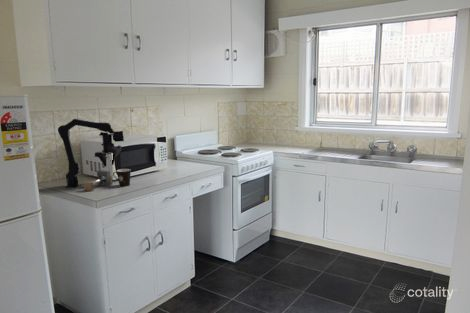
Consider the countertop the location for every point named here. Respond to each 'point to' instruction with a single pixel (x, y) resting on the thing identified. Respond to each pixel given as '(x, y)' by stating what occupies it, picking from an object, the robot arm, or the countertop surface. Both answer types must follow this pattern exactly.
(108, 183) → the collar
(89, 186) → the metal shaft
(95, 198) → the countertop surface
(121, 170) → the coffee mug
